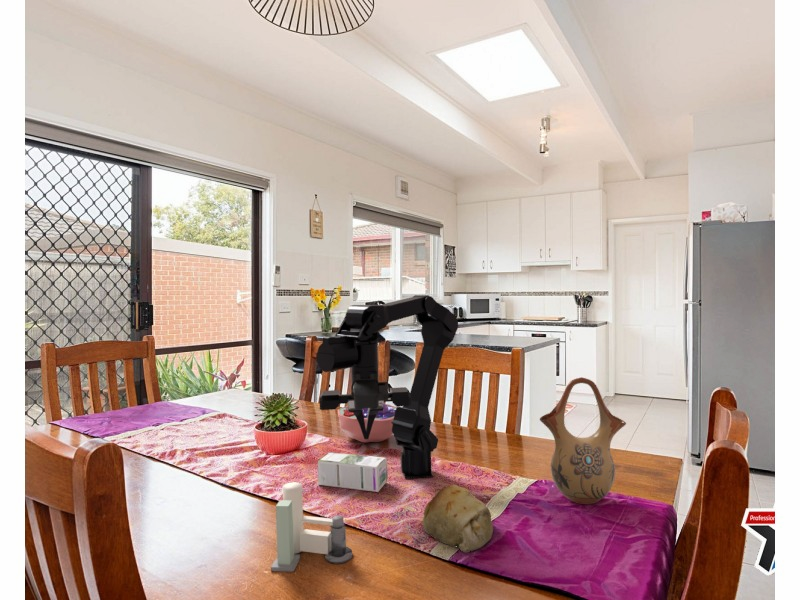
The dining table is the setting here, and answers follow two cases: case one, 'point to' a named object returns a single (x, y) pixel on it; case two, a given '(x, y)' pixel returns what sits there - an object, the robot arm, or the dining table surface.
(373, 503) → the dining table surface
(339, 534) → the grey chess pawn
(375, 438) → the cell model
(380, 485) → the syrup box
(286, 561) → the post
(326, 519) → the gate
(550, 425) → the ceramic vessel
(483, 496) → the dining table surface
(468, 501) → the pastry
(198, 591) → the dining table surface
